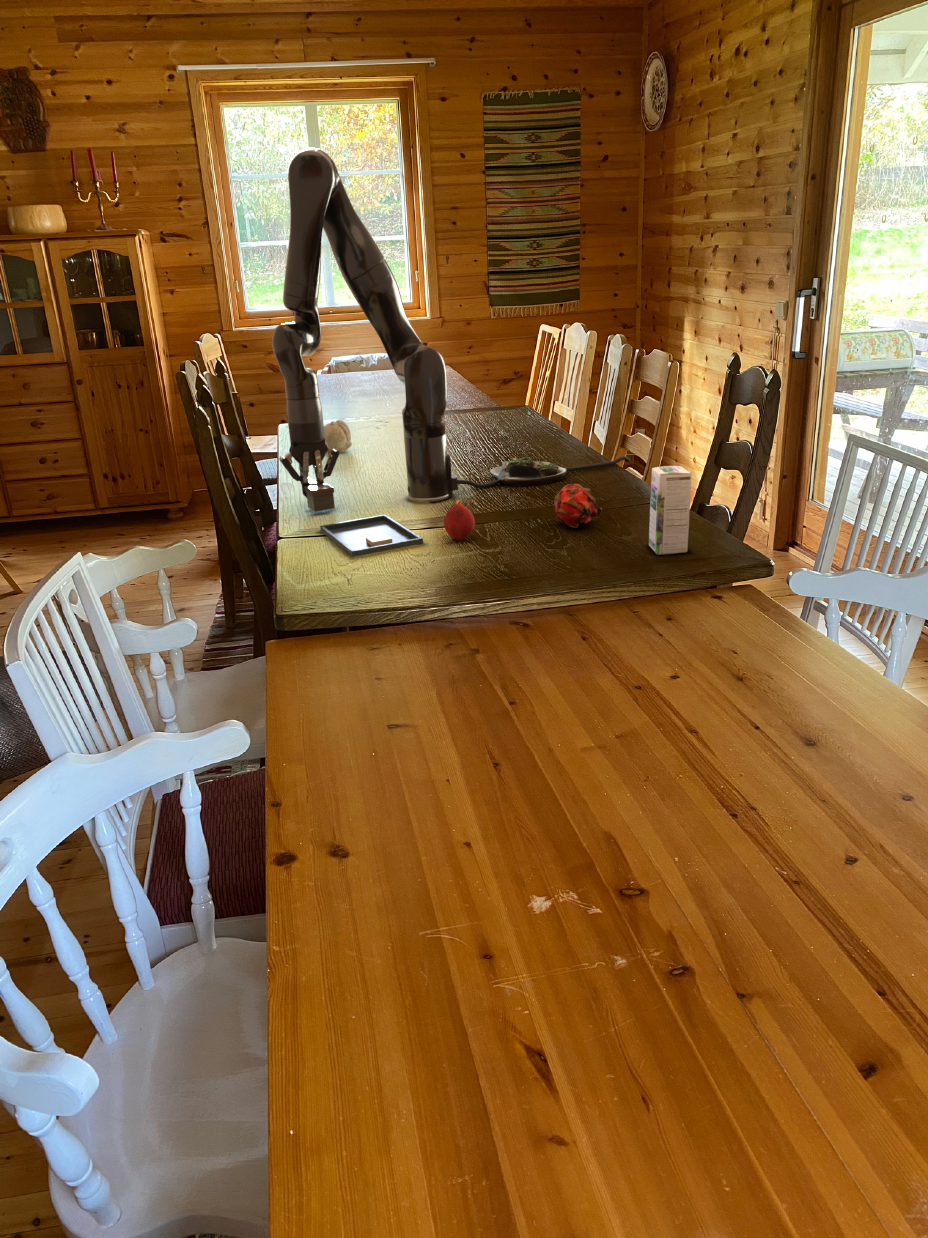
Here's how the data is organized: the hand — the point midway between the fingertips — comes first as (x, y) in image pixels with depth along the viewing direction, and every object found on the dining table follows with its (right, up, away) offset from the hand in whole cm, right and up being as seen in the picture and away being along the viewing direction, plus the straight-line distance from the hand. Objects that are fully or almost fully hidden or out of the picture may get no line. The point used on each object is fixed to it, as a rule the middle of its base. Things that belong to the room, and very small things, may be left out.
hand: (314, 496), depth 204 cm
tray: (+15, -11, -24) cm, 30 cm away
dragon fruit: (+56, -9, -22) cm, 61 cm away
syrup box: (+70, -15, -40) cm, 82 cm away
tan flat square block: (+17, -13, -28) cm, 35 cm away
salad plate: (+49, +7, +16) cm, 51 cm away
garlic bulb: (-3, +20, +56) cm, 59 cm away
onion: (+33, -13, -29) cm, 45 cm away
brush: (0, -2, 0) cm, 2 cm away
